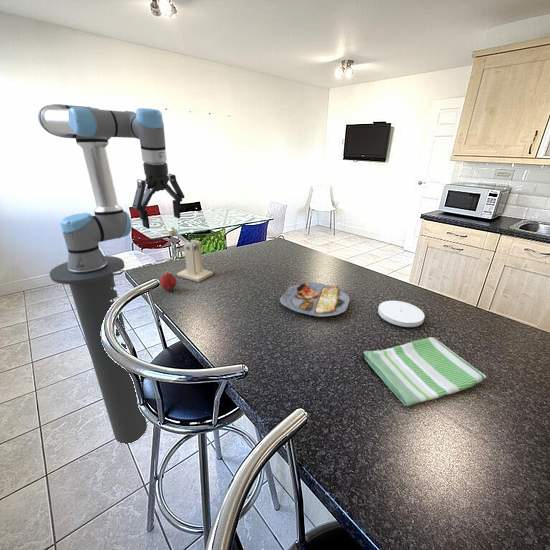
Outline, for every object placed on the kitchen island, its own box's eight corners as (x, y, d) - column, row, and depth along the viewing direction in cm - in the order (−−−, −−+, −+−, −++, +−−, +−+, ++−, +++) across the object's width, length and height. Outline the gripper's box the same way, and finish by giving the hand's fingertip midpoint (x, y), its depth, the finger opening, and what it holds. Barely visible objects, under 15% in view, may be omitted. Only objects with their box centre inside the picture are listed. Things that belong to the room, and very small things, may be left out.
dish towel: (360, 356, 78) (361, 348, 77) (430, 341, 85) (432, 333, 84) (406, 409, 63) (408, 399, 62) (487, 386, 69) (491, 377, 68)
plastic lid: (368, 310, 100) (369, 304, 99) (400, 304, 105) (402, 297, 104) (398, 333, 88) (399, 326, 87) (432, 324, 93) (434, 318, 92)
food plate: (294, 283, 119) (294, 275, 118) (352, 293, 112) (353, 285, 110) (272, 312, 98) (272, 303, 96) (342, 328, 90) (343, 318, 89)
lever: (166, 233, 121) (167, 226, 119) (172, 231, 124) (174, 224, 122) (190, 252, 118) (192, 245, 116) (196, 250, 121) (198, 243, 119)
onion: (158, 291, 110) (154, 272, 107) (170, 286, 114) (167, 267, 111) (168, 295, 107) (165, 276, 104) (180, 289, 112) (178, 270, 108)
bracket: (177, 275, 123) (172, 242, 117) (192, 268, 130) (188, 237, 124) (198, 282, 118) (195, 247, 112) (213, 274, 125) (210, 241, 119)
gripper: (127, 169, 86) (138, 235, 97) (191, 160, 104) (195, 216, 116) (112, 164, 89) (125, 228, 101) (177, 156, 107) (182, 211, 119)
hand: (162, 222), depth 108 cm, fingers open, 13 cm apart
